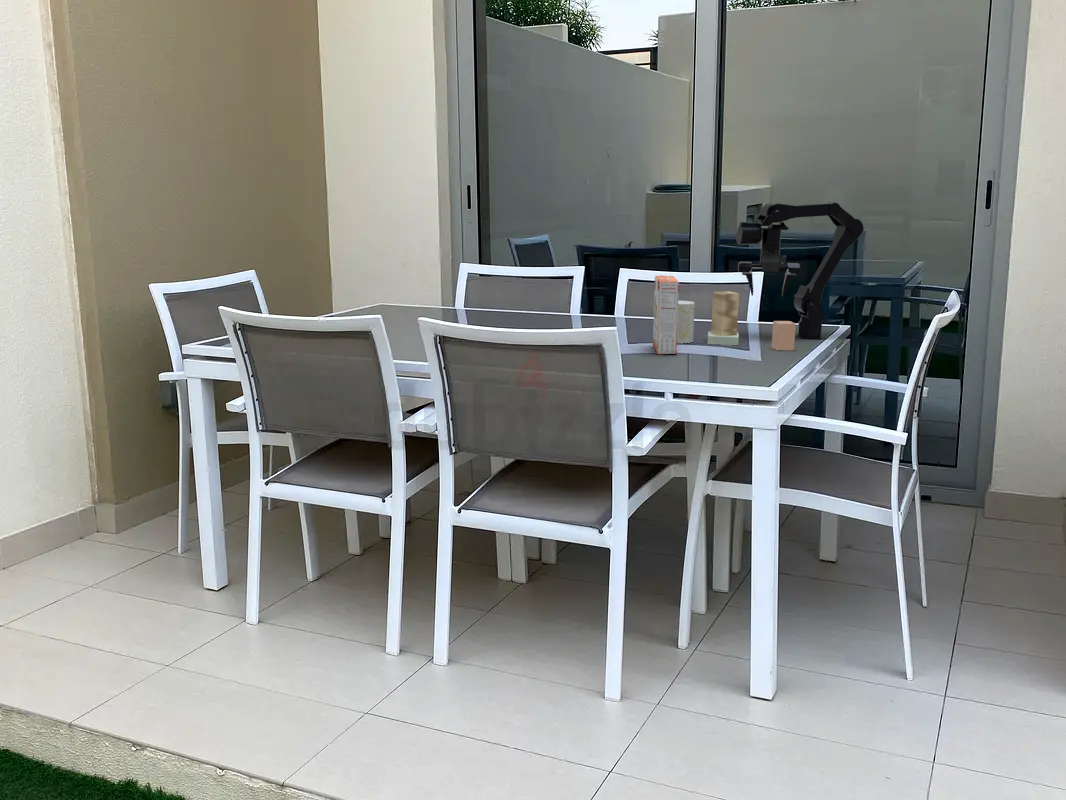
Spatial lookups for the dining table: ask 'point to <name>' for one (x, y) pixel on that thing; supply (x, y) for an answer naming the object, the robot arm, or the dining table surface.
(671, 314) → the cracker box
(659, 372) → the dining table surface
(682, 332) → the cup
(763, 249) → the robot arm
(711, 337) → the sage slab
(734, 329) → the oak block
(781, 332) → the terracotta block
